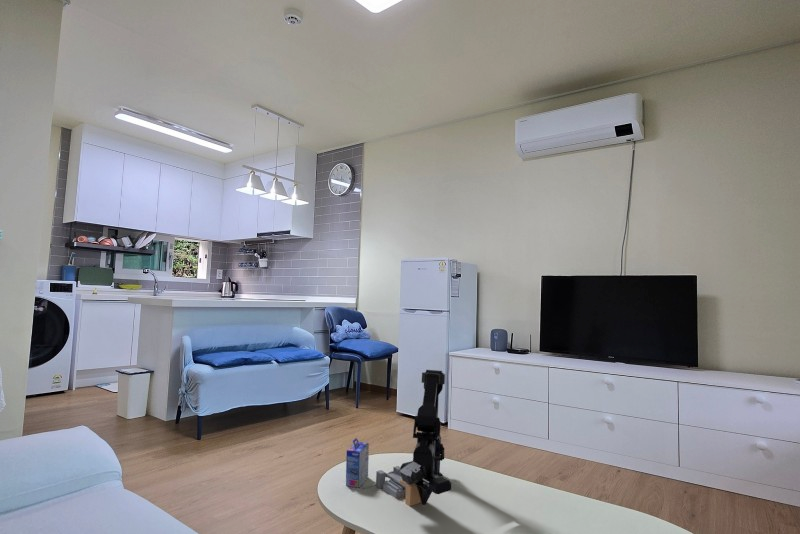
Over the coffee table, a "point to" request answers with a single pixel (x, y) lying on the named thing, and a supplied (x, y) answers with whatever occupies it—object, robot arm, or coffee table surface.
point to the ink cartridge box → (357, 464)
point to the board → (389, 484)
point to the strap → (394, 477)
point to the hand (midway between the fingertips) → (423, 504)
